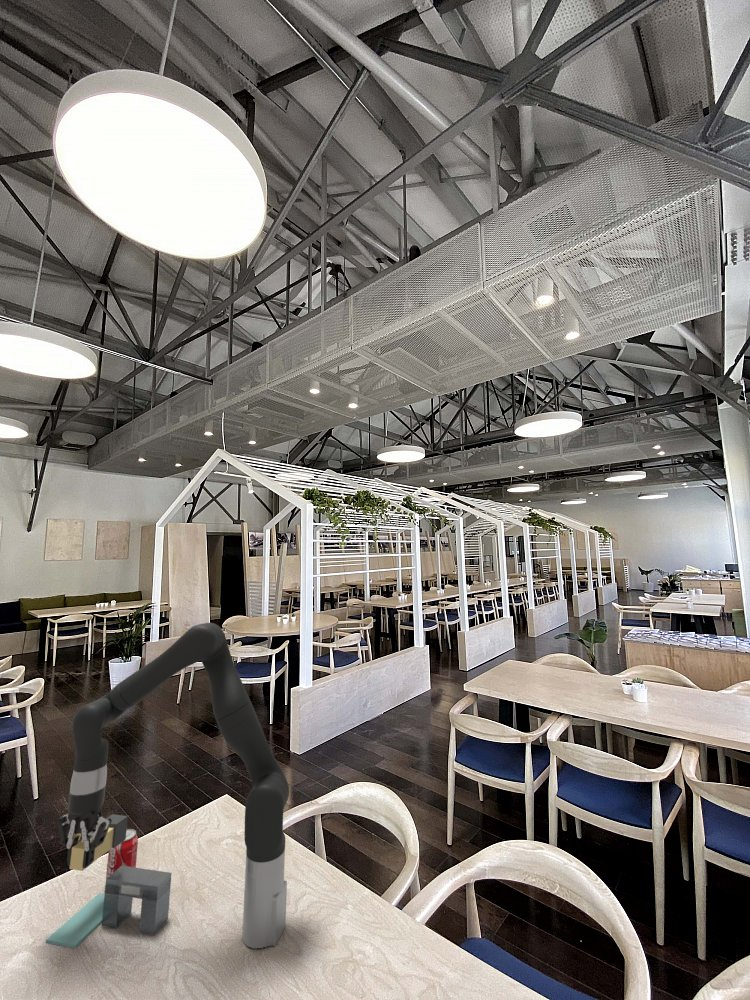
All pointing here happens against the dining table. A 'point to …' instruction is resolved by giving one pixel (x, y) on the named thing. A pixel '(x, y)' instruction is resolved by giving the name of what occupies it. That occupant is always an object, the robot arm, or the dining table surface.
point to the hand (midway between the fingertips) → (79, 864)
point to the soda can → (123, 853)
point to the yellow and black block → (111, 840)
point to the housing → (137, 885)
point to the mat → (79, 924)
